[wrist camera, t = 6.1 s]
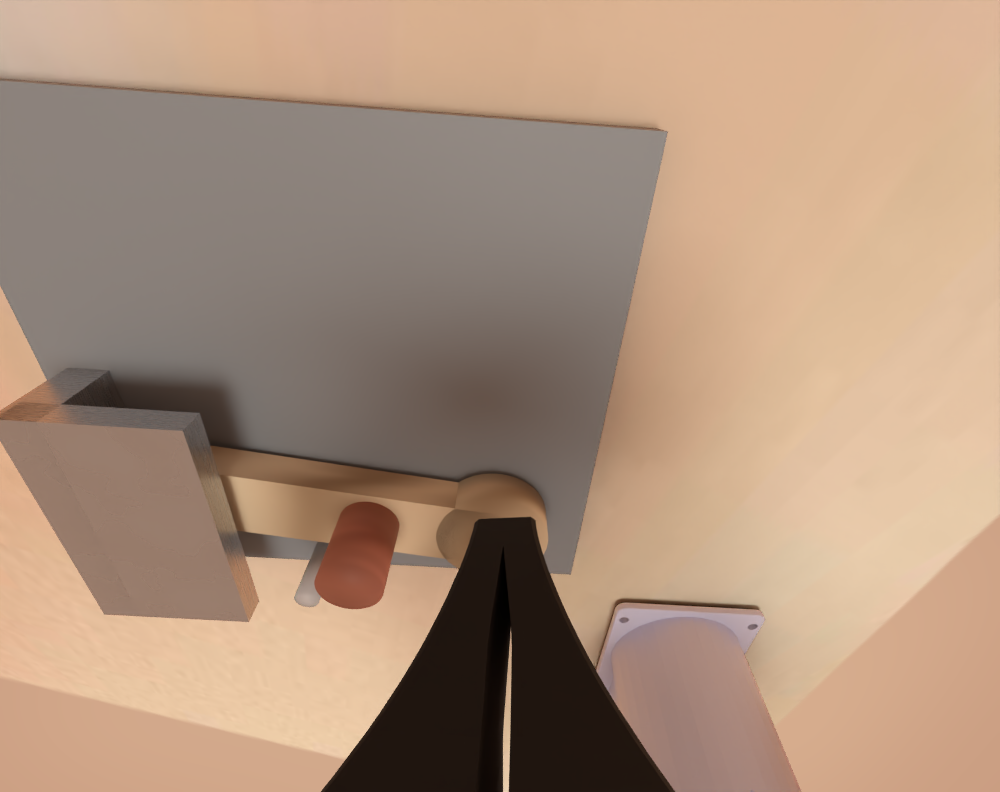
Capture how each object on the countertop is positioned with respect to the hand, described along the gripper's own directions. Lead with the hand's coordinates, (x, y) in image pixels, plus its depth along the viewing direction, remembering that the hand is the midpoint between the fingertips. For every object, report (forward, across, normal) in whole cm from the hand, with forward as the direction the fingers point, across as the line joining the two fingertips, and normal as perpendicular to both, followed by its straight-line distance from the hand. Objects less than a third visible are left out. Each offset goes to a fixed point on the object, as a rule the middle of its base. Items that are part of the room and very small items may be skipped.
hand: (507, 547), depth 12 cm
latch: (+7, +6, +5) cm, 11 cm away
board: (+8, +7, 0) cm, 11 cm away
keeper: (+9, +14, +4) cm, 17 cm away
